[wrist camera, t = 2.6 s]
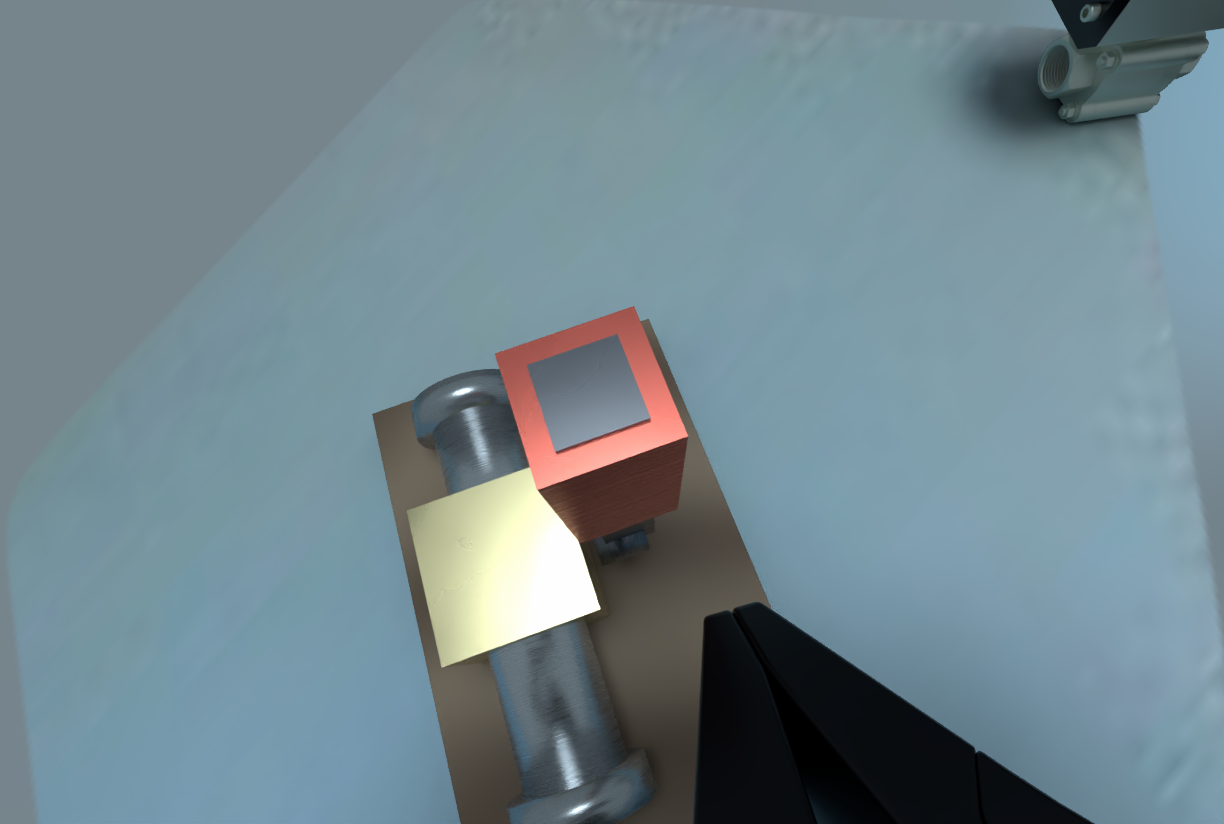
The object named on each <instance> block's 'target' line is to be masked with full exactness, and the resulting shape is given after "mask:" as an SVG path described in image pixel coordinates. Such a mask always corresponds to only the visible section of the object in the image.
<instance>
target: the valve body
mask: <svg viewBox="0 0 1224 824" xmlns="http://www.w3.org/2000/svg"><path fill="white" fill-rule="evenodd" d="M411 416H412V420H413V424H414V428H415V432H416V436H417V440H418V442H419V443H420V444H421V445H422V446H423V447H425V448H428V449H431V450H436V451H437V455H438V459H439V463H440V467H441V471H442V475H443V479H444V483H445V487H446V491H447V495H448V496H447V497H444V498H441V499H438V500H435V501H433V502H430V503H427V504H424V505H421V506H418V507H416V508H413V509H410V510H407V515H408V520H409V524H410V528H411V533H412V537H413V542H414V546H415V551H416V555H417V560H418V564H419V569H420V573H421V577H422V582H423V586H424V591H425V595H426V600H427V604H428V609H429V613H430V618H431V622H432V627H433V631H434V635H435V640H436V644H437V649H438V653H439V658H440V662H441V667H442V668H444V667H452V666H460V665H468V664H476V663H482V662H485V661H488V660H489V661H490V665H491V669H492V673H493V677H494V681H495V685H496V689H497V693H498V697H499V701H500V705H501V709H502V713H503V717H504V721H505V725H506V729H507V733H508V737H509V741H510V745H511V749H512V753H513V757H514V761H515V765H516V769H517V773H518V776H519V780H520V784H521V788H522V792H523V793H521V794H520V795H518V796H517V797H515V798H514V799H512V800H511V801H510V802H509V803H508V804H507V805H506V809H507V813H508V817H509V821H510V824H614V823H616V822H618V821H620V820H622V819H624V818H625V817H627V816H629V815H631V814H632V813H634V812H635V811H637V810H638V809H640V808H641V807H643V806H644V805H645V804H647V803H648V802H649V801H650V800H651V799H652V798H653V797H654V796H655V795H656V793H657V787H656V784H655V781H654V778H653V775H652V771H651V768H650V765H649V762H648V759H647V756H646V753H645V750H644V749H642V748H637V749H630V750H626V749H625V746H624V743H623V739H622V736H621V733H620V730H619V727H618V723H617V720H616V717H615V714H614V711H613V707H612V704H611V701H610V698H609V695H608V692H607V688H606V685H605V682H604V679H603V676H602V672H601V669H600V666H599V663H598V660H597V656H596V653H595V650H594V647H593V644H592V640H591V637H590V634H589V631H588V628H587V624H588V623H590V622H593V621H596V620H598V619H601V618H604V617H607V616H609V615H611V614H610V611H609V608H608V605H607V602H606V599H605V596H604V593H603V589H602V586H601V583H600V580H599V577H598V574H597V571H596V568H595V565H594V562H593V559H592V556H591V553H590V550H589V547H588V544H587V542H585V543H583V544H580V543H579V541H578V540H577V539H576V538H575V536H574V535H573V534H572V533H571V531H570V530H569V529H568V528H567V527H566V525H565V524H564V523H563V522H562V520H561V519H560V518H559V517H558V515H557V514H556V513H555V512H554V510H553V509H552V508H551V507H550V505H549V504H548V503H547V502H546V501H545V499H544V498H543V497H542V496H541V494H540V493H539V492H538V491H537V488H536V485H535V482H534V479H533V475H532V472H531V469H530V466H529V462H528V459H527V456H526V453H525V449H524V446H523V443H522V440H521V436H520V433H519V430H518V427H517V424H516V420H515V417H514V414H513V411H512V407H511V404H510V401H509V398H508V394H507V391H506V388H505V385H504V381H503V378H502V375H501V372H500V369H484V370H476V371H470V372H466V373H461V374H458V375H455V376H451V377H449V378H446V379H444V380H442V381H439V382H437V383H435V384H433V385H432V386H430V387H428V388H427V389H425V390H424V391H423V392H422V393H420V394H419V395H418V396H417V397H416V398H415V400H414V401H413V403H412V405H411Z"/></svg>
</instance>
